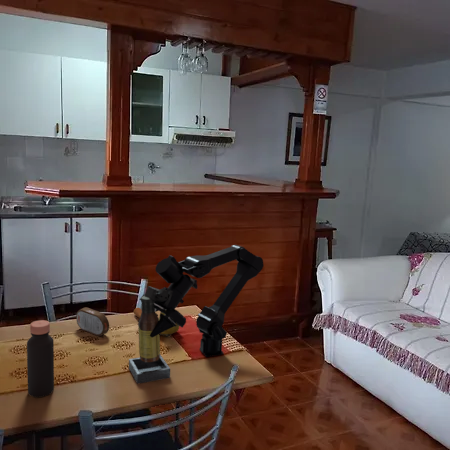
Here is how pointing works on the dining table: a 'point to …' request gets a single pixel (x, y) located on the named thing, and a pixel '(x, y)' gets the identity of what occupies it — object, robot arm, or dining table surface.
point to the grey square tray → (149, 370)
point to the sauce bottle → (148, 332)
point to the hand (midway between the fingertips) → (145, 332)
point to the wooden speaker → (92, 321)
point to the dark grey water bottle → (40, 360)
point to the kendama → (137, 312)
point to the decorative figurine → (169, 331)
